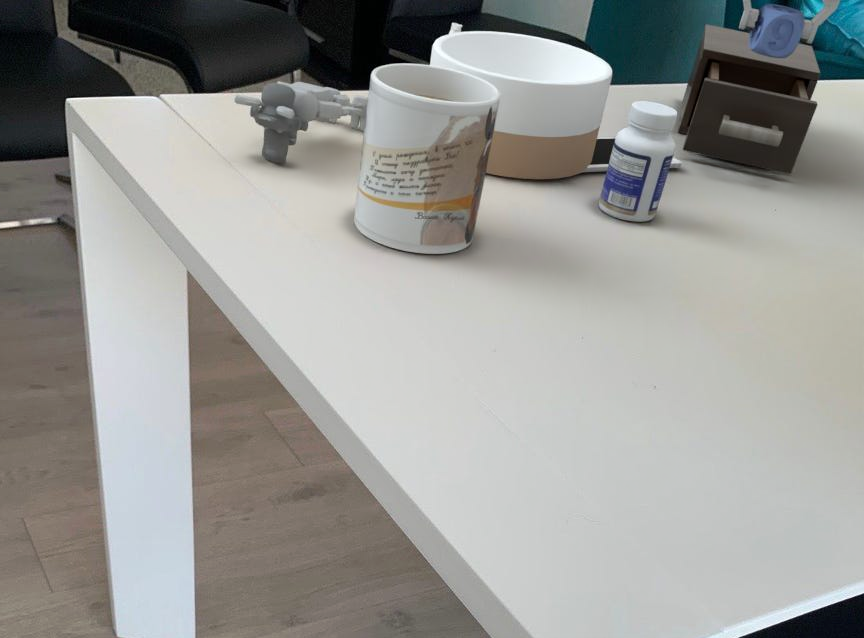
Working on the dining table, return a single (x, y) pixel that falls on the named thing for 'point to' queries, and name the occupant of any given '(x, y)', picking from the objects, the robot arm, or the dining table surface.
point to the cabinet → (737, 51)
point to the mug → (424, 157)
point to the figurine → (298, 113)
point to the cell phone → (604, 154)
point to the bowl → (534, 99)
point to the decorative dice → (776, 31)
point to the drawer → (750, 117)
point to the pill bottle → (639, 163)
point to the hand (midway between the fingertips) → (774, 35)
